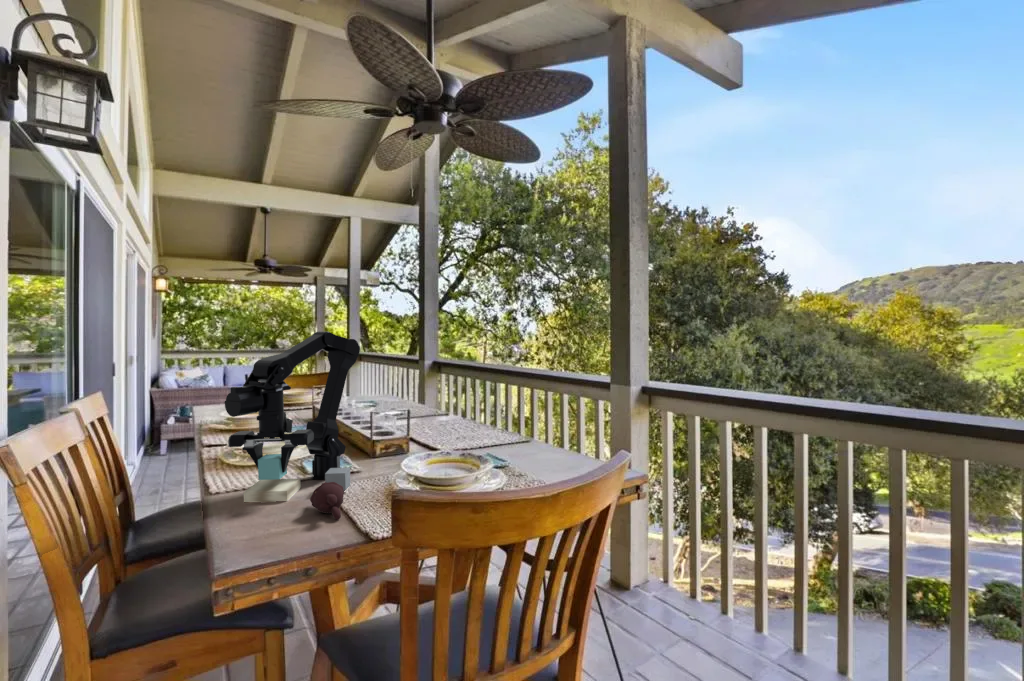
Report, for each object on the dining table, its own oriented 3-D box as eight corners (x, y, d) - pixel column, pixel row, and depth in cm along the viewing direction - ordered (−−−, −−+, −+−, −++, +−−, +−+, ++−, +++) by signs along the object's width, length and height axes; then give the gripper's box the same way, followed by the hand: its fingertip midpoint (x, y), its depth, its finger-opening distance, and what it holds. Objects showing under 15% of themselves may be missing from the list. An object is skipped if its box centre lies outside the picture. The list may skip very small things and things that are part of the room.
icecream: (301, 478, 122) (313, 503, 109) (333, 466, 125) (348, 488, 112) (309, 504, 123) (322, 531, 110) (340, 491, 127) (356, 516, 114)
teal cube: (287, 473, 132) (286, 453, 132) (279, 479, 127) (279, 459, 127) (266, 473, 131) (266, 454, 131) (258, 479, 126) (257, 459, 126)
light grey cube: (350, 486, 136) (350, 467, 136) (345, 492, 131) (345, 473, 131) (330, 487, 136) (330, 468, 135) (325, 493, 131) (324, 473, 130)
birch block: (300, 489, 135) (300, 478, 135) (287, 503, 125) (287, 490, 125) (260, 491, 134) (260, 479, 134) (243, 504, 124) (243, 492, 124)
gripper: (319, 403, 137) (321, 462, 138) (246, 405, 136) (248, 464, 136) (305, 411, 126) (307, 474, 127) (226, 413, 125) (228, 477, 125)
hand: (273, 472), depth 129 cm, fingers closed on teal cube, 5 cm apart
